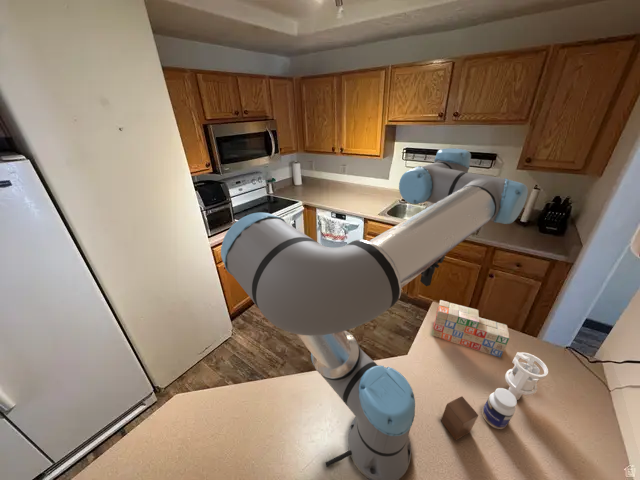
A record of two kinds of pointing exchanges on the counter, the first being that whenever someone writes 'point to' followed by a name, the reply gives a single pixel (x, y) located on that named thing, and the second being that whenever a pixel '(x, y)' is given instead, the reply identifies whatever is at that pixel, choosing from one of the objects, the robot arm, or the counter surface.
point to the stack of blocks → (469, 329)
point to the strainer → (525, 375)
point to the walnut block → (459, 417)
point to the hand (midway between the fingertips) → (425, 283)
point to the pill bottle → (499, 408)
